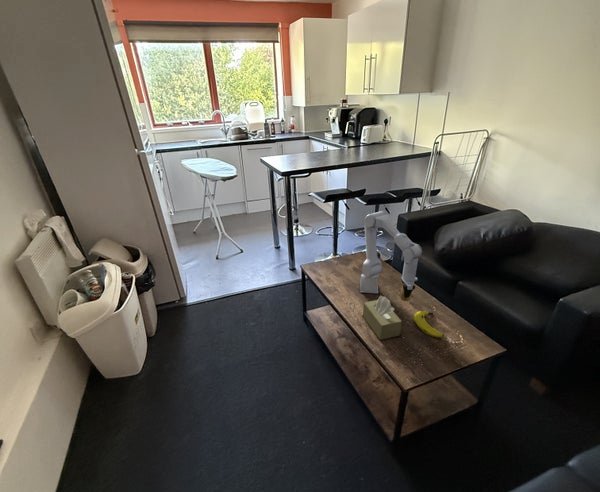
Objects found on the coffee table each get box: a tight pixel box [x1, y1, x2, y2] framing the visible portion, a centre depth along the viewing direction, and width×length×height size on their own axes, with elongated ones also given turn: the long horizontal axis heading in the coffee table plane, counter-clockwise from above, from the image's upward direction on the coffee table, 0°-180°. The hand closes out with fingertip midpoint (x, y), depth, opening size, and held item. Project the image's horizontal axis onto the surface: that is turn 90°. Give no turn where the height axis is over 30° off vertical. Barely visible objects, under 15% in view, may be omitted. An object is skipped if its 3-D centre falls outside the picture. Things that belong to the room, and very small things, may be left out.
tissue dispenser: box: [362, 295, 403, 340], centre depth 144 cm, size 19×10×16 cm, turn 15°
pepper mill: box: [400, 283, 412, 302], centre depth 152 cm, size 5×5×9 cm
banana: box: [413, 310, 445, 339], centre depth 146 cm, size 5×17×15 cm
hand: (405, 294), depth 153 cm, fingers closed on pepper mill, 4 cm apart
